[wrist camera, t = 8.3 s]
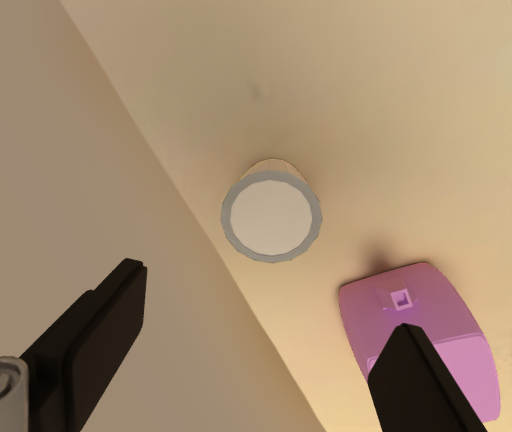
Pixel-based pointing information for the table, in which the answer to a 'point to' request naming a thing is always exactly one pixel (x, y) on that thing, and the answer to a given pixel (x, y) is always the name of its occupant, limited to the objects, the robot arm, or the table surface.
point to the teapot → (429, 319)
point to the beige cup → (271, 213)
